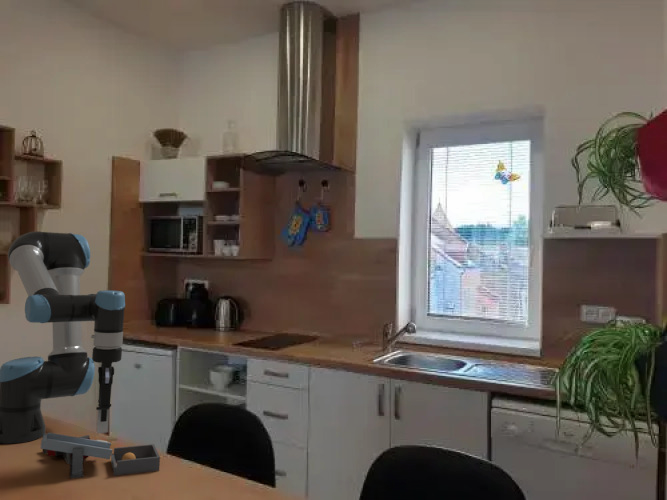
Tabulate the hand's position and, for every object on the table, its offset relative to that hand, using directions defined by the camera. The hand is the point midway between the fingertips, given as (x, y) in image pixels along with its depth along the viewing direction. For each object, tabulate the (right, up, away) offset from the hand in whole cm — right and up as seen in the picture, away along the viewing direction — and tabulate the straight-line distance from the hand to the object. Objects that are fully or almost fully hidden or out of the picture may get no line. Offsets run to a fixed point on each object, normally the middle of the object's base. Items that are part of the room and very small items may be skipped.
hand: (102, 431), depth 155 cm
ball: (+9, -6, -4) cm, 11 cm away
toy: (-11, -8, +1) cm, 13 cm away
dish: (+10, -8, -3) cm, 13 cm away
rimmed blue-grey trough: (-4, -2, -7) cm, 8 cm away
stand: (-3, -7, -10) cm, 12 cm away
